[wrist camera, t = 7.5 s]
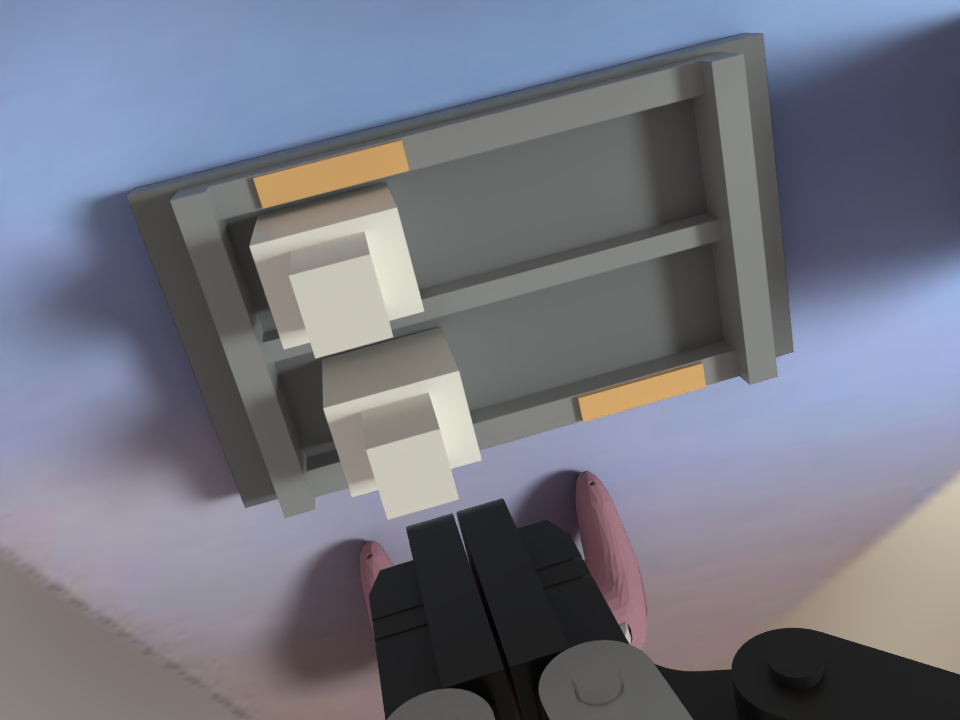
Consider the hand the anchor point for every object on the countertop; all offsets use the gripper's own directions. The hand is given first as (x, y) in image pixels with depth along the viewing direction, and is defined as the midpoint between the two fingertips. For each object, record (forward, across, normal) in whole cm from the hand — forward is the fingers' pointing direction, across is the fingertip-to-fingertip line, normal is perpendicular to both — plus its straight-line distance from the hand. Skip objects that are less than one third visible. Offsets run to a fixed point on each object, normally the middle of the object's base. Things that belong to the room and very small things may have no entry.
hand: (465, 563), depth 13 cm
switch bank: (+18, -4, +1) cm, 18 cm away
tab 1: (+16, +1, -1) cm, 17 cm away
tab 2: (+16, 0, +4) cm, 17 cm away
